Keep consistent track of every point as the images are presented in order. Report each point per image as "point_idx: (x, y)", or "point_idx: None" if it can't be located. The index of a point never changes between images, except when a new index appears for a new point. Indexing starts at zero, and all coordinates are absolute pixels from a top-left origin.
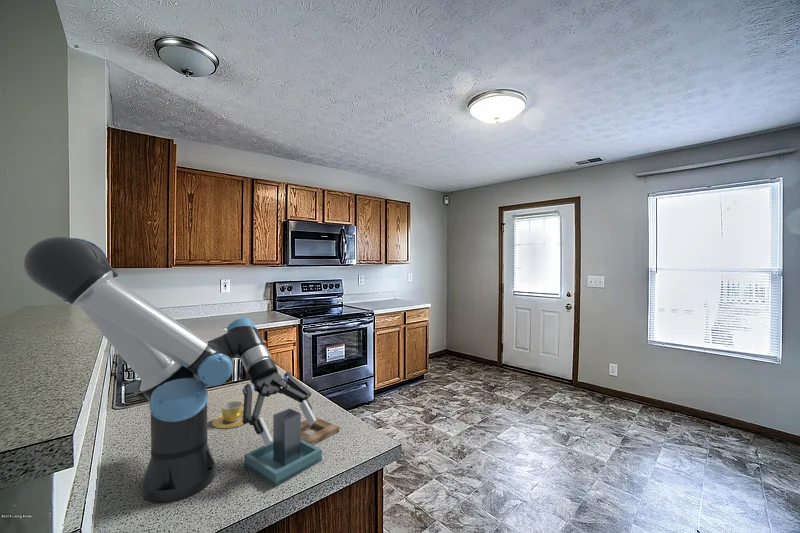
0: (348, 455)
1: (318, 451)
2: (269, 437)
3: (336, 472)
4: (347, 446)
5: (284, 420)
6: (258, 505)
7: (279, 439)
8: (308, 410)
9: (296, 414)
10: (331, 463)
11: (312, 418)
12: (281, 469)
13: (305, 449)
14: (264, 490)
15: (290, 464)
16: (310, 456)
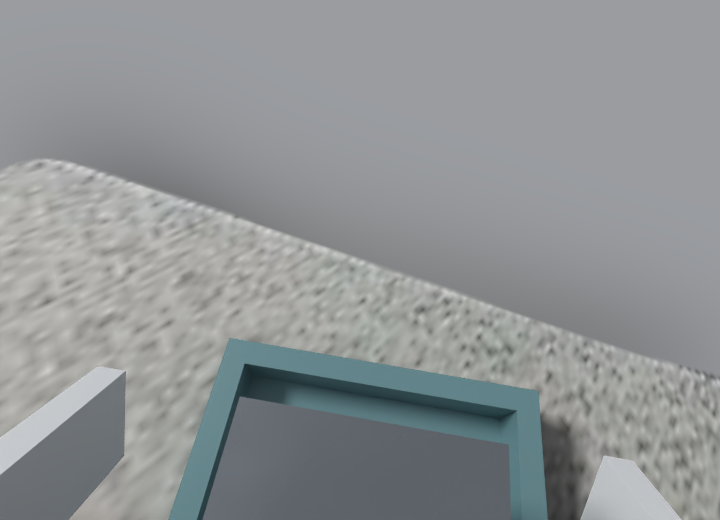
0: (155, 273)
1: (252, 343)
2: (646, 490)
3: (296, 248)
4: (68, 322)
5: (504, 452)
6: (622, 377)
7: None
8: (15, 466)
9: (295, 426)
10: (245, 302)
11: (104, 393)
12: (493, 400)
13: None
14: (560, 435)
15: (433, 390)
16: (311, 353)
